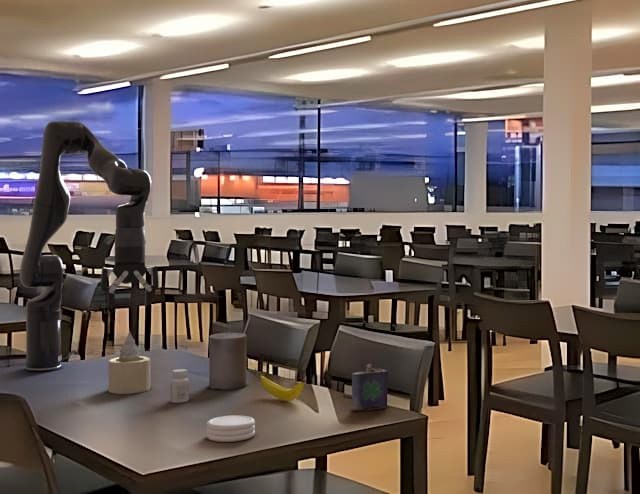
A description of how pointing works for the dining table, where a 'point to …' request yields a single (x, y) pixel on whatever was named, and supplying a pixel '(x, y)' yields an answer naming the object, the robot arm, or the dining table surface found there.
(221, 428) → the coaster
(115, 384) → the hollow cream cylinder
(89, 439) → the dining table surface
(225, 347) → the pillar candle
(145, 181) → the robot arm
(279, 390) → the banana
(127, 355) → the grey tall pointed piece
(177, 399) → the pill bottle
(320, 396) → the dining table surface
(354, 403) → the flask
